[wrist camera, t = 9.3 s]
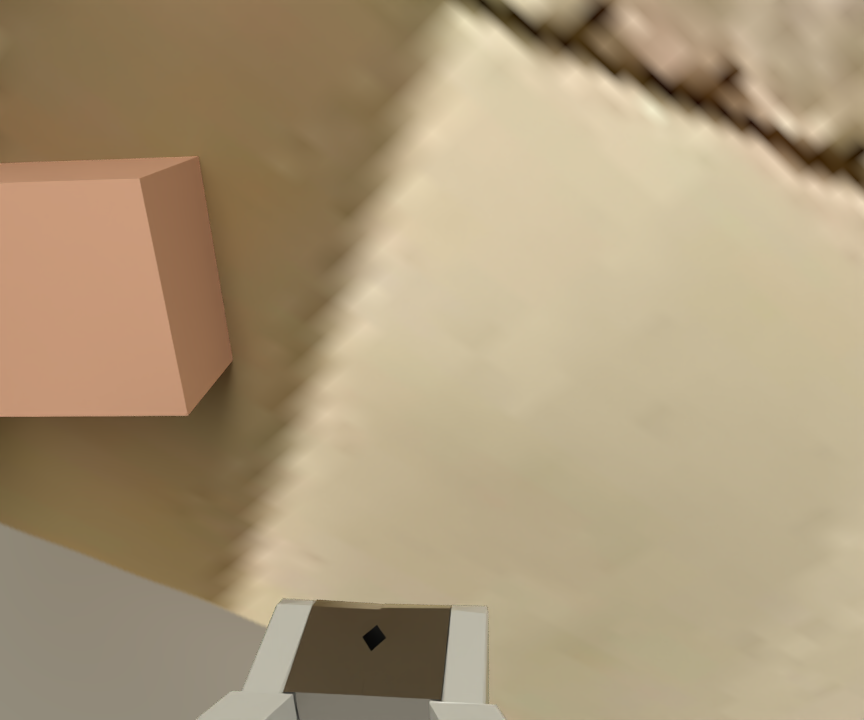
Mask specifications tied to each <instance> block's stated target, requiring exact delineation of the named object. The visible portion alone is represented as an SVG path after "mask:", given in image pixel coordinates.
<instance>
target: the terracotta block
mask: <svg viewBox="0 0 864 720" xmlns="http://www.w3.org/2000/svg"><path fill="white" fill-rule="evenodd" d="M232 361H233V357H232V351H231V346H230V340H229V334H228V328H227V322H226V316H225V310H224V304H223V298H222V292H221V286H220V281H219V275H218V269H217V263H216V257H215V251H214V245H213V239H212V233H211V227H210V222H209V216H208V210H207V204H206V198H205V192H204V186H203V180H202V174H201V168H200V162H199V157H198V156H194V157H165V158H137V159H108V160H79V161H51V162H22V163H0V417H43V416H188V415H189V414H190V413H191V411H192V410H193V409H194V408H195V406H196V405H197V404H198V403H199V401H200V400H201V399H202V398H203V397H204V395H205V394H206V393H207V392H208V390H209V389H210V388H211V387H212V385H213V384H214V383H215V382H216V380H217V379H218V378H219V377H220V376H221V374H222V373H223V372H224V371H225V369H226V368H227V367H228V366H229V364H230V363H231V362H232Z"/></svg>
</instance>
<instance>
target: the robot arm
mask: <svg viewBox="0 0 864 720" xmlns="http://www.w3.org/2000/svg"><path fill="white" fill-rule="evenodd" d="M196 720H506V718H505V717H504V715H503V714H502V712H501V711H500V709H499V708H498V706H497V705H493V704H489V623H488V607H487V606H467V605H453V606H452V605H419V604H377V603H361V602H345V601H329V600H316V601H315V600H300V599H286V598H283V599H282V600H281V601H280V602H279V603H278V605H277V606H276V607H275V610H274V612H273V615H272V617H271V620H270V622H269V624H268V627H267V629H266V632H265V634H264V637H263V640H262V642H261V644H260V647H259V649H258V652H257V654H256V656H255V659H254V661H253V664H252V666H251V669H250V671H249V674H248V676H247V679H246V681H245V683H244V686H243V688H242V691H230V692H229V693H228V694H226V696H224V697H223V698H222V699H220V700H219V701H218V702H217V703H216V704H214V705H213V706H212V707H210V708H209V709H208V710H207V711H205V712H204V713H203V714H202V715H200V716H199V717H198V718H197V719H196Z"/></svg>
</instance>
